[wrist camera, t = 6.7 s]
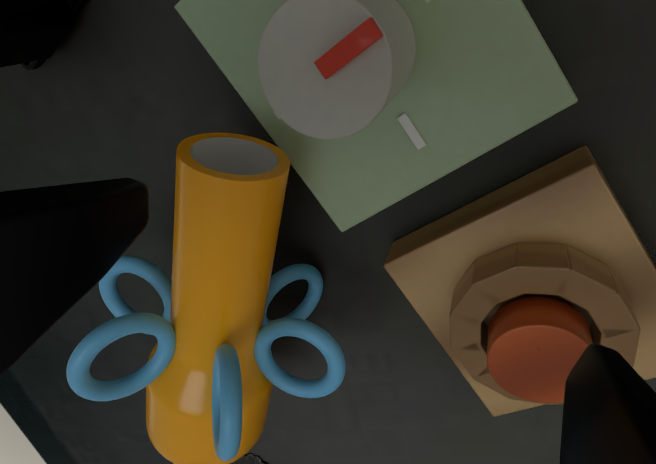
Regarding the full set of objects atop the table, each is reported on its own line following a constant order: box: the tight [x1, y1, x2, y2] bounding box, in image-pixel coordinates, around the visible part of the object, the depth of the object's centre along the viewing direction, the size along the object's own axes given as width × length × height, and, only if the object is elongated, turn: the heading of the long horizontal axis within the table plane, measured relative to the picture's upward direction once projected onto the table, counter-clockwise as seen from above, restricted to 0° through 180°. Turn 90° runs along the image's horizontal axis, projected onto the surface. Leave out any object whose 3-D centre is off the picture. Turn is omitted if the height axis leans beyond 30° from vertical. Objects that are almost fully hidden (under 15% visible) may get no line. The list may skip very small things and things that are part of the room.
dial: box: [257, 0, 416, 140], centre depth 15 cm, size 4×4×4 cm
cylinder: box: [67, 133, 346, 464], centre depth 21 cm, size 12×10×15 cm
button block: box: [383, 146, 656, 416], centre depth 20 cm, size 10×9×4 cm
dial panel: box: [175, 0, 578, 232], centre depth 18 cm, size 11×10×3 cm
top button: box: [487, 297, 593, 403], centre depth 18 cm, size 4×4×2 cm
